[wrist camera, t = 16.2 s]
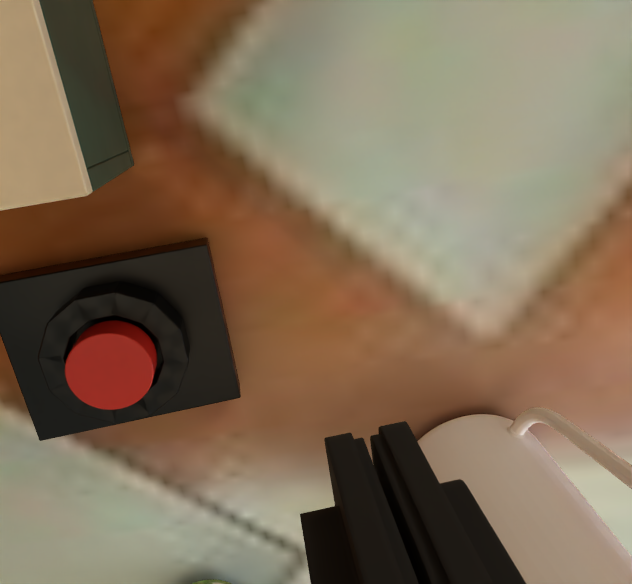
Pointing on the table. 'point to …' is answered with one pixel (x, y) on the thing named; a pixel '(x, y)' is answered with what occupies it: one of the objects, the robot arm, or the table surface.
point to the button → (111, 365)
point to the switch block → (122, 305)
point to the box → (88, 87)
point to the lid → (34, 115)
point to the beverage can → (211, 582)
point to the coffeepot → (533, 495)
